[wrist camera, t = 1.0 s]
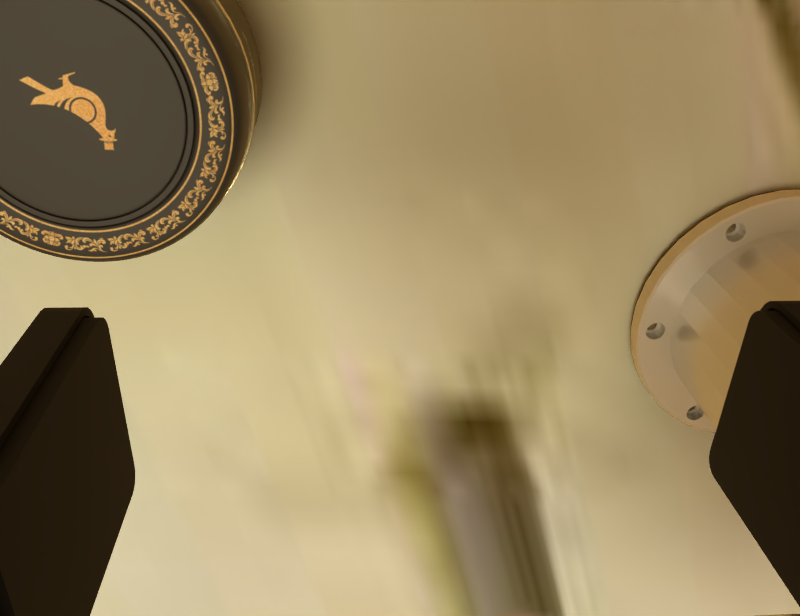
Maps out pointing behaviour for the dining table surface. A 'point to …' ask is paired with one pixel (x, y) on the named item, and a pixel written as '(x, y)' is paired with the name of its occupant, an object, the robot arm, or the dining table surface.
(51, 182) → the jar
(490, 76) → the dining table surface
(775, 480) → the robot arm
